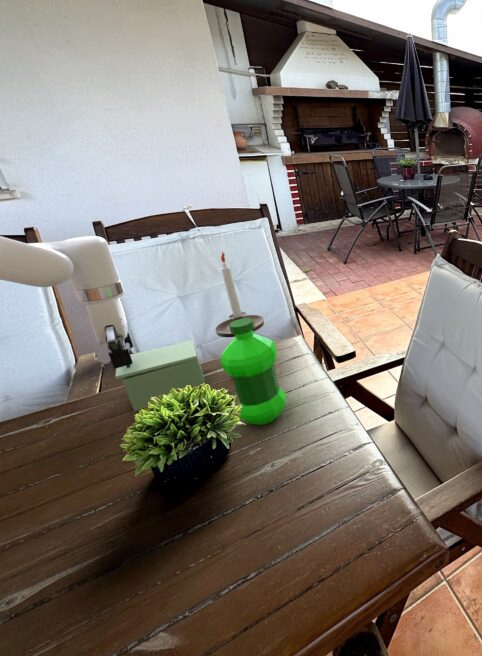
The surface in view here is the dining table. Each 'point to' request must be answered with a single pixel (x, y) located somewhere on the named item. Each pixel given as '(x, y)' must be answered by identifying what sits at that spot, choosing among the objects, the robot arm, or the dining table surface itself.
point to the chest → (162, 381)
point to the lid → (157, 358)
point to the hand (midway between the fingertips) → (124, 357)
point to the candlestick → (234, 305)
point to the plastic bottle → (253, 373)
